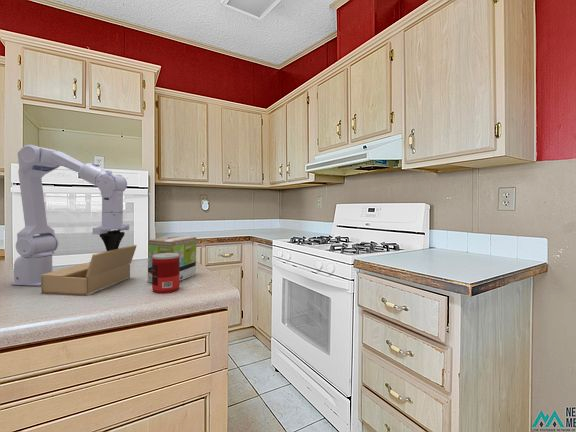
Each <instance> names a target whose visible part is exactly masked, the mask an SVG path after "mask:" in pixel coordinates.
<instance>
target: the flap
mask: <svg viewBox="0 0 576 432" xmlns="http://www.w3.org/2000/svg"><path fill="white" fill-rule="evenodd" d="M136 249H137V245H136V244H131V245H128V246H123V247H118V249H115V250H110V251H107V250H105V251H101V252H98V253H93V254H92V255H91V259H90V261H89V262H90V265H89V268H88V271H87V274H86V277H91V276H94V275H97V274H100V273H103V272H106V271H109V270H112V269H115V268H118V267H121V266H124V265H127V264H130V265H131V264H132V261H133V258H134V255H135V252H136Z"/></svg>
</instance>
